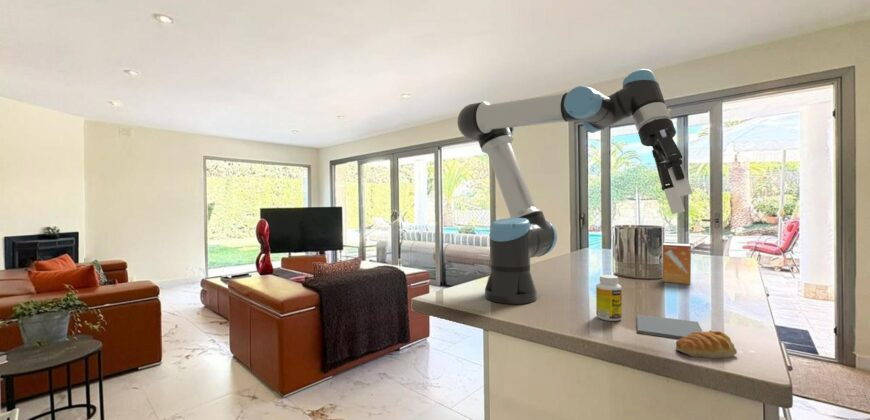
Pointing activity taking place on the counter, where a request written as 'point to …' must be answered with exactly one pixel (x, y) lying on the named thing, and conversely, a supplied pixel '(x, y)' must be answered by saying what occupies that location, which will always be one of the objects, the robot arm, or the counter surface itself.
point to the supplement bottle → (609, 298)
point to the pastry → (707, 345)
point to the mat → (666, 326)
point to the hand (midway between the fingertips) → (681, 204)
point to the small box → (677, 263)
